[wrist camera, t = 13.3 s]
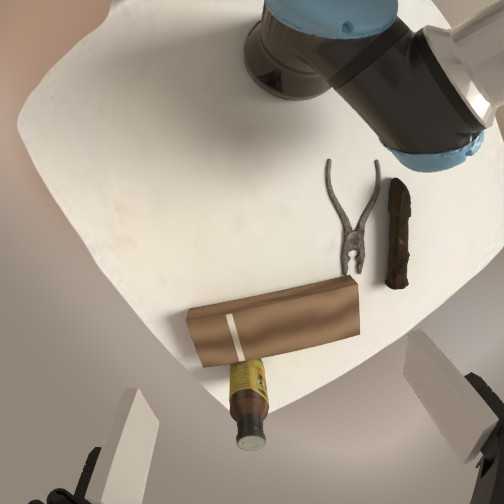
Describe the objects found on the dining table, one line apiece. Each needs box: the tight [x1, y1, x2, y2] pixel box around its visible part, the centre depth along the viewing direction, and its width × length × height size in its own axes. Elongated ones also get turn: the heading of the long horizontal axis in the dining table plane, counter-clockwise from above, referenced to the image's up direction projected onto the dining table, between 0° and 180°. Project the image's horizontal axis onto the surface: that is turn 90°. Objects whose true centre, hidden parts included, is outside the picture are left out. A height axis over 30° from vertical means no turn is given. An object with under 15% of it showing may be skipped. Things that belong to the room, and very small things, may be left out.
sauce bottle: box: [229, 358, 269, 451], centre depth 44 cm, size 6×6×20 cm
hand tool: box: [385, 178, 411, 290], centre depth 45 cm, size 19×4×5 cm, turn 5°
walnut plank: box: [186, 275, 360, 368], centre depth 49 cm, size 10×28×4 cm, turn 102°
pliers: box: [326, 159, 381, 276], centre depth 46 cm, size 10×1×20 cm
